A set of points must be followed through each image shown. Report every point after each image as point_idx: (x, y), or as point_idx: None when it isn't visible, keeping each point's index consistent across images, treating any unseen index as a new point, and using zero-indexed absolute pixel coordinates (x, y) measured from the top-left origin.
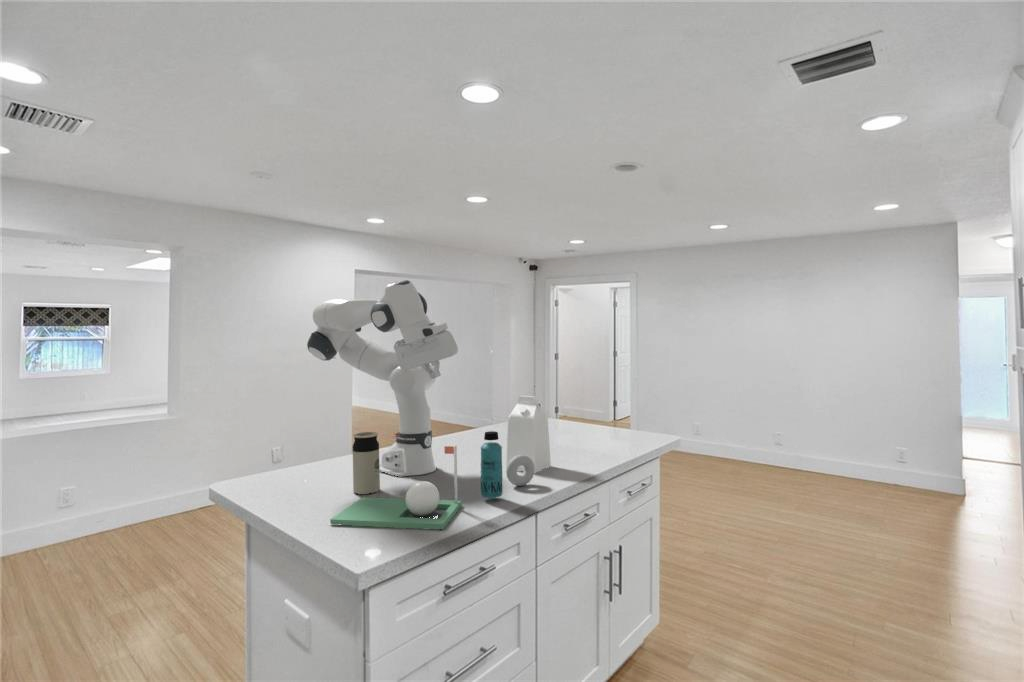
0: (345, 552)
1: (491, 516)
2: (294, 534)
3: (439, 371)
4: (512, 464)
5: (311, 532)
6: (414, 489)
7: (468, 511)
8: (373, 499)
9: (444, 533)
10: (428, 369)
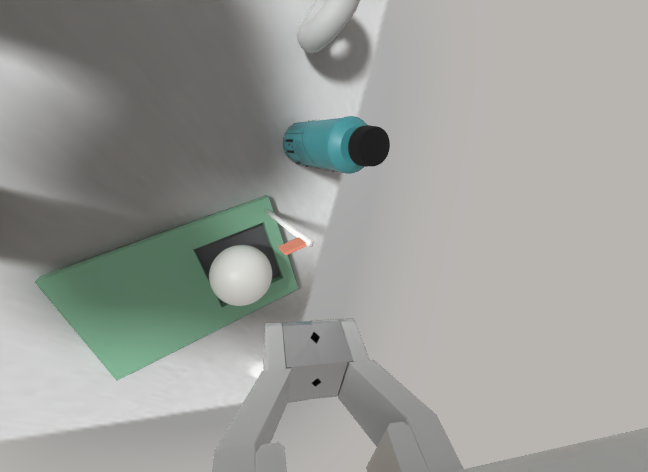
0: (231, 390)
1: (328, 213)
2: (99, 422)
3: (362, 342)
4: (329, 41)
5: (119, 402)
6: (245, 304)
7: (289, 211)
8: (84, 276)
9: (302, 290)
10: (268, 430)
